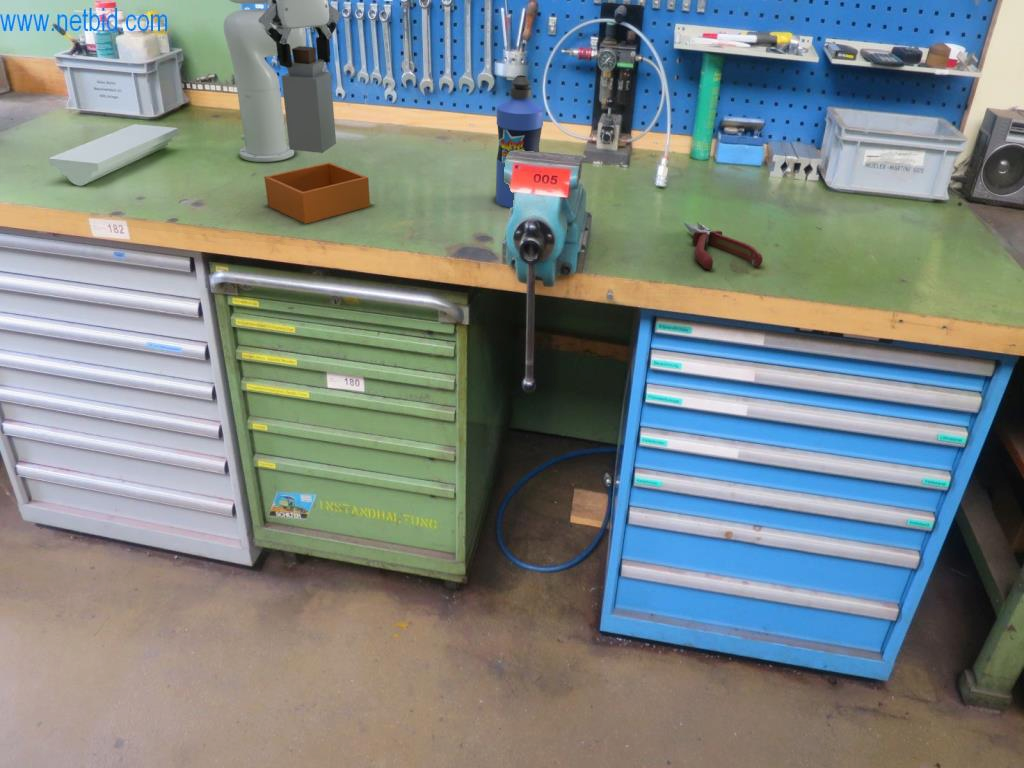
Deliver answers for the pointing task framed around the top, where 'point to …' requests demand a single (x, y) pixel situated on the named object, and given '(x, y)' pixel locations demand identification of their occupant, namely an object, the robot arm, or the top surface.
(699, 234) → the pliers
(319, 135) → the perfume bottle
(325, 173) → the box
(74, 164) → the shelf
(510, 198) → the water bottle
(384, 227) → the top surface
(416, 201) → the top surface
